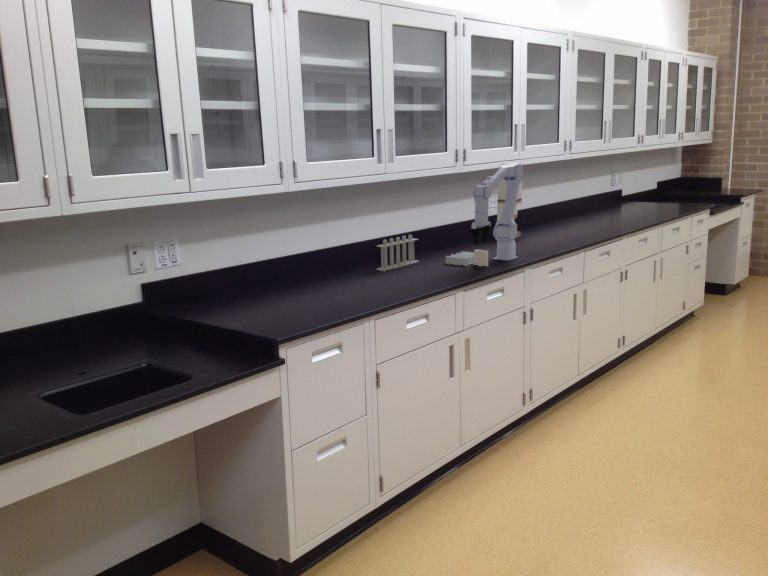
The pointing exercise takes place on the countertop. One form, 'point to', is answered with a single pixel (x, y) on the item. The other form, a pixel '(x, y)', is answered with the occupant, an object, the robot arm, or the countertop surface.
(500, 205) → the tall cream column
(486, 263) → the cream tile
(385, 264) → the test tube rack
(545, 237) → the countertop surface
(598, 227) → the countertop surface
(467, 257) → the drying rack
